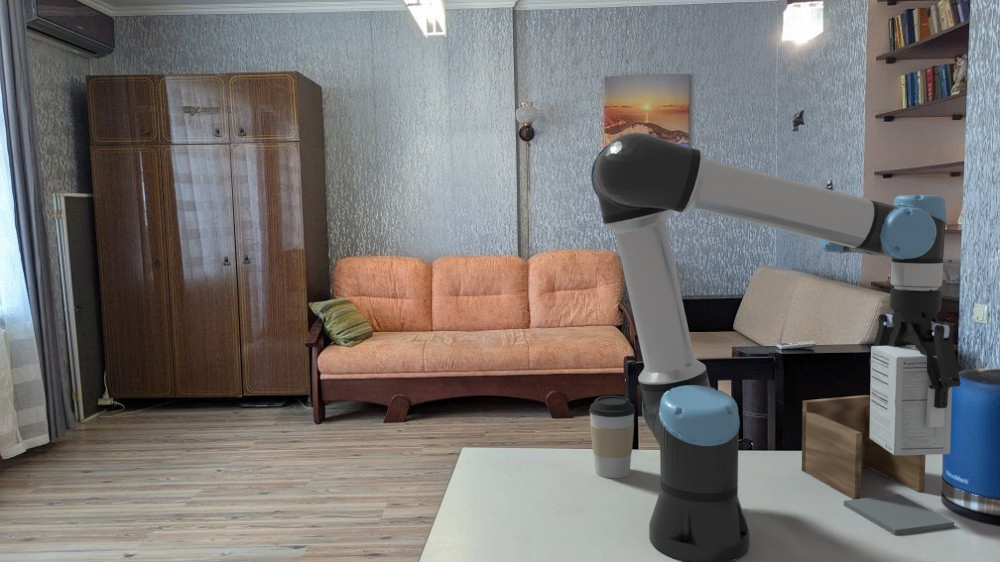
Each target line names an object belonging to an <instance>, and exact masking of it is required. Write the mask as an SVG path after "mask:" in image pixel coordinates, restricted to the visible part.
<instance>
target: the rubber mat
mask: <svg viewBox="0 0 1000 562" xmlns="http://www.w3.org/2000/svg"><path fill="white" fill-rule="evenodd" d="M843 506H845V507H846V508H848V509H850V510H851V511H853V512H855V513H856V514H858V515H860V516H862V517H863V518H865V519H866V520H868V521H870V522H871V523H874V524H876V525H877V526H879V527H880V528H882V529H884V530H885V531H887V532H890V533H891V534H892V535H894V536H896V535H903V534H912V533H919V532H920V533H921V532H925V531H934V530H940V529H948V527H950V528H954V527H955V521H954V520H951V519H949V518H947V517H945V516H944V515H941V514H939V513H937V512H935V511H933V510H931V509H930V508H927V507H925V506H923V505H921V504H919V503H917V502H916V501H913V500H911V499H909V498H907V497H905V496H904V495H902V494H899V493H895V494H889V495H881V496H871V497H865V498H863V497H862V498H860V499H848V500H847V499H846V500H843ZM953 526H954V527H953Z"/></svg>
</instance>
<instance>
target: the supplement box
mask: <svg viewBox="0 0 1000 562" xmlns="http://www.w3.org/2000/svg"><path fill="white" fill-rule="evenodd" d="M870 351H871V352H870V356H871V365H870V386H869V387H870V388H869V389H870V395H869V396H870V439H871V440H873V441H874V442H876V443H877V444H879V445H880V446H882V447H883V448H884V449H886V450H887V451H889V452H890V453H892V454H893V455H926V456H927V455H951V442H952V441H951V438H952V437H951V435H952V433H951V432H952V405H953V402H952V399H953V387H950V388H949V390H948V401H947V402H948V403H947V407H946V408H945V411H944V426H942V427H930V428H929V427H927V426H926V415H927V396H928V387H929V386H931V385H932V383H931V380H930V377H929V375H928V372H927V356H925V355H922V354H921V353H920V351H919V350H918V349H917V348H916V347H915V344H906V346H898V347H891V346H874V345H872V346H871V349H870ZM933 357H935V358H937V355H936V356H933ZM950 379H951V378H950ZM940 380H941V379H940V378H939V381H940Z"/></svg>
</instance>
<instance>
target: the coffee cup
mask: <svg viewBox="0 0 1000 562" xmlns="http://www.w3.org/2000/svg"><path fill="white" fill-rule="evenodd" d="M588 412H589V414H590V423H589V425H590V434H591V443H592V452H593V456H594V457H593V458H594V466H595V467H594V469H595V470H594V471H595V474H596V475H598V476H599V477H602V478H606V479H623V478H626V477H628V476H629V475H630V473H631V458H632V452H633V444H634V443H633V442H634V433H635V432H634V430H635V422H634V420H635V414H636V409H635V406H634V404H633V403H631V400H630V398H626V397H623V396H618V395H606V396H605V395H603V396H599V397H597V398H595V399H594V402H592V403H591V404H590V408H589V409H588Z"/></svg>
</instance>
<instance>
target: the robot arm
mask: <svg viewBox="0 0 1000 562" xmlns="http://www.w3.org/2000/svg"><path fill="white" fill-rule="evenodd" d="M590 181H591V186H592V188H593V191H594V192H595V195H596V196H597V199H598V204H599V207H600V212H601V216H602V221H603V226H604V227H606V228H607V229H609V230H611V231H612V232H613V233H614V234H615V238H616V242H617V247H618V253H619V256H620V260H621V261H620V262H621V265H622V269H623V274H624V279H625V284H626V289H627V292H628V297H629V302H630V306H631V310H632V315H633V320H634V324H635V325H634V326H635V329H636V335H637V339H638V342H639V343H638V344H639V347H640V352H641V356H642V361H643V365H644V367H643V370H642V371H641V372H640V373H639V376H637V377H638V378H637V379H638V383H639V388H640V391H641V392H640V393H641V398H642V401H641V404H642V406H641V407H642V408H641V410H642V416H643V419H644V421H645V423H646V425H647V428H648V429H649V430H650V432H651V433H652V435H653V436H654V438H655V440H656V442H657V443H658V445H659V452H660V454H659V455H660V457H659V459H660V460H659V461H660V462H659V463H660V472H659V473H660V474H659V475H660V476H659V477H660V487H659V488H660V491H659V494H658V496H657V500H656V502H655V505H654V508H653V511H652V515H651V517H650V520H649V524H648V525H649V526H648V527H649V528H648V530H649V531H648V532H649V534H648V535H649V536H648V537H649V542H650V543H651V545H652V546H653V547H654V548H655V549H657V550H658V551H660V552H661V553H662V554H665V555H667V556H670V557H672V558H675V559H678V560H681V561H686V562H731V561H735V560H738V559H740V558H742V557H743V556H745V555H746V554H747V553H748V552H749V550H750V530H749V527H748V523H747V521H746V520H747V519H746V517H745V515H744V511H743V508H742V505H741V501H740V500H739V494H738V492H739V489H738V488H739V430H740V424H741V422H740V415H739V407H738V404H737V402H736V400H735V398H733V397H732V396H731V395H730V394H729V393H727V392H725V391H723V390H720V389H718V390H717V389H716V388H715V387H711V385H710V380H709V375H708V371H707V367H706V365H705V363H703V362H701V361H700V360H698V359H697V358H696V357H695V353H694V348H693V344H692V341H691V335H690V331H689V326H688V321H687V316H686V312H685V308H684V302H683V299H682V298H683V297H682V293H681V287H680V284H679V278H678V274H677V269H676V265H675V260H674V255H673V251H672V246H671V241H670V236H669V233H668V228H667V227H668V226H667V223H666V222H667V220H668V218H669V217H670V215H671V213H672V212H673V211H674V212H678V213H685V212H687V211H689V210H691V209H693V210H698V211H702V212H706V213H710V214H714V215H718V216H722V217H727V218H730V219H734V220H739V221H743V222H747V223H751V224H755V225H759V226H763V227H767V228H771V229H775V230H779V231H784V232H787V233H792V234H796V235H799V236H804V237H808V238H811V239H815V240H818V243H819V245H820V248H821V249H822V250H823V251H824V252H826V253H837V254H838V253H839V254H845V253H848V254H849V253H850V254H851V253H853V254H856V253H857V254H863V255H871V256H881V257H888V258H891V263H890V264H891V265H890V266H891V268H890V279H889V280H890V285H892V286H894V287H892V288H891V289H890V290H889V309H891V310H892V311H893V313H883V314H881V313H880V314H879V315H878V329H877V331H876V332H877V333H876V335H875V338H874V339H875V340H874V342H873V346H891V347H898V346H906V345H908V344H909V343H910V344H911V345H915V347H916V348H917V349H918V350H919V351H920V353H921V354H922V355H925V356H927V372H928V375H929V377H930V380H931V383H932V385H931V386H929V387H928V396H927V415H926V426H927V427H929V428H930V427H942V426H944V411H945V408H946V407H947V403H948V402H947V401H948V390H949V388H950V387H952V388H956V387H960V386H961V377H960V372H959V367H958V361H957V356H956V351H955V346H954V341H953V340H954V339H953V337H954V326H953V325H952V324H941V323H939V322H938V320H937V315H938V313H939V312H940V311H941V310H942V299H943V298H942V297H943V292H942V291H941V289H938V288H940V287H942V285H943V270H944V253H945V239H946V225H947V223H948V222H947V207H946V200H945V198H944V197H943V196H942V195H939V194H938V195H937V194H919V195H918V194H913V195H912V194H911V195H907V194H906V195H905V194H904V195H897V196H896V197H895V198H894V201H893V204H888V203H884V202H880V201H876V200H871V199H869V198H864V197H861V196H856V195H852V194H848V193H844V192H840V191H837V190H832V189H828V188H825V187H820V186H816V185H813V184H808V183H804V182H799V181H796V180H793V179H788V178H785V177H779V176H776V175H773V174H769V173H768V174H767V173H763V172H759V171H756V170H752V169H747V168H744V167H739V166H736V165H731V164H728V163H723V162H720V161H716V160H712V159H708V158H706V157H705V155H704V153H703V151H702V150H700V149H696V148H693V147H689V146H686V145H683V144H678V143H677V142H676V143H675V142H672V141H670V140H666V139H664V138H660V137H658V136H656V135H653V134H648V133H642V132H632V133H630V132H629V133H627V134H622V135H621V136H618V137H617V138H615V139H613V140H612V141H610V143H608V144H607V145H605V146H604V147H603V148H602V149H601V150H600V151H599V152H598V154H597V155H596V157H595V158H594V161H593V164H592V168H591V172H590ZM936 355H937V358H935V357H933V356H936ZM868 362H869V366H871V355H870V357H869V360H868ZM939 378H940V379H941V380H940V381H939ZM950 378H951V379H950Z"/></svg>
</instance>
